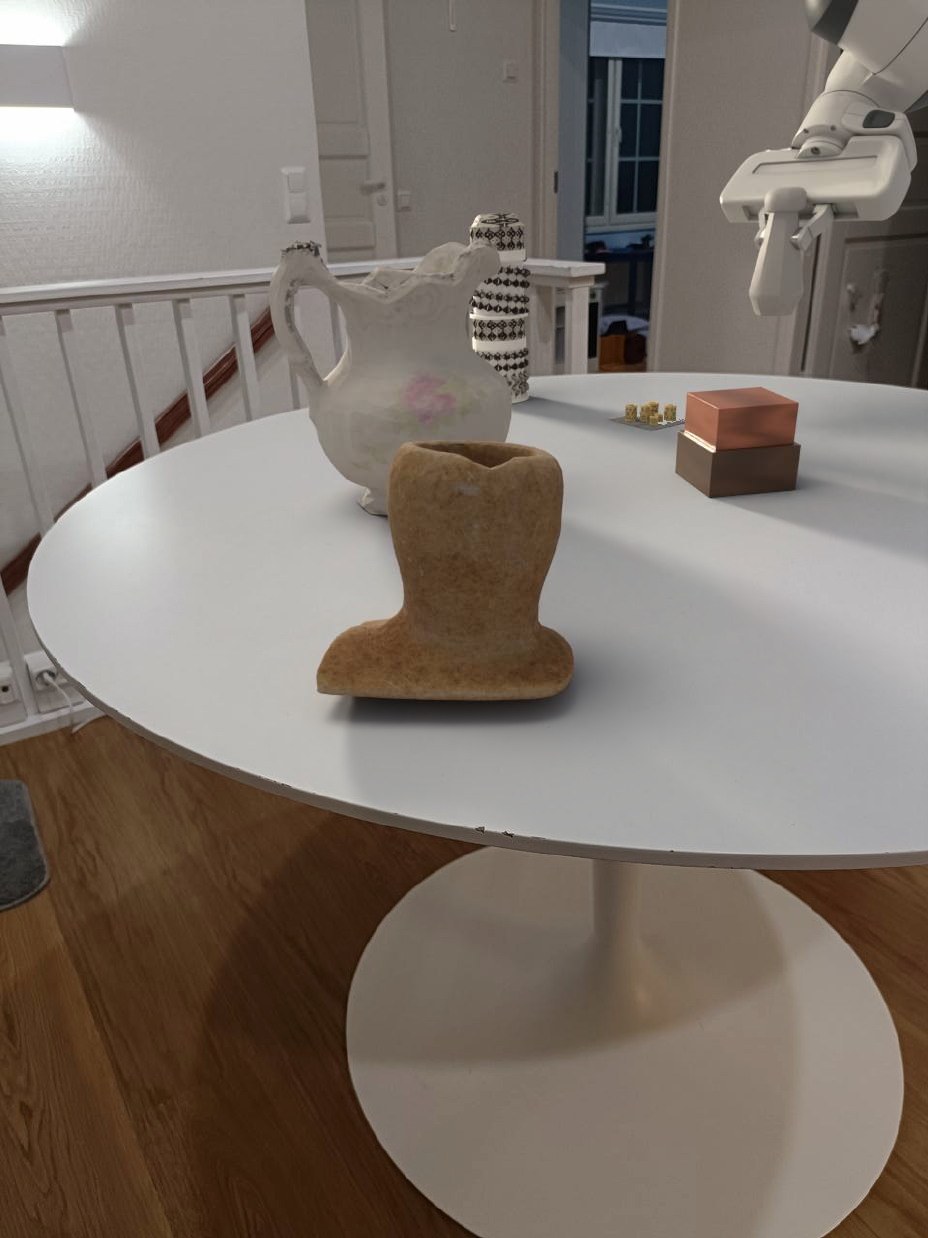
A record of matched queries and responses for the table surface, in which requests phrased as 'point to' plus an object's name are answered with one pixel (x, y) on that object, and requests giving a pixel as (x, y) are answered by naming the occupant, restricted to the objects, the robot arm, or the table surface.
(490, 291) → the white patterned cylinder
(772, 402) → the block stack
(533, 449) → the stone cup
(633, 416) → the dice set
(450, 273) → the ceramic pitcher
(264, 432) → the table surface
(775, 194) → the salt shaker
